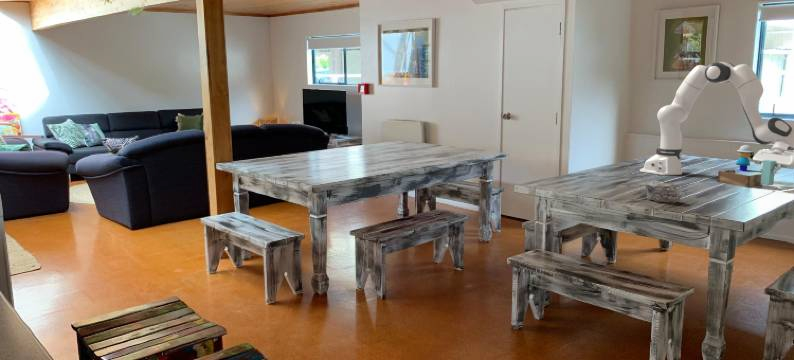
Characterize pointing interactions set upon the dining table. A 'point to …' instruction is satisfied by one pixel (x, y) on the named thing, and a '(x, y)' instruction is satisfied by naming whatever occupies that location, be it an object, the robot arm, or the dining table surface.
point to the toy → (744, 157)
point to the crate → (739, 178)
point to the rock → (662, 192)
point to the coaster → (766, 187)
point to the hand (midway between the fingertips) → (767, 171)
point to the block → (767, 172)
